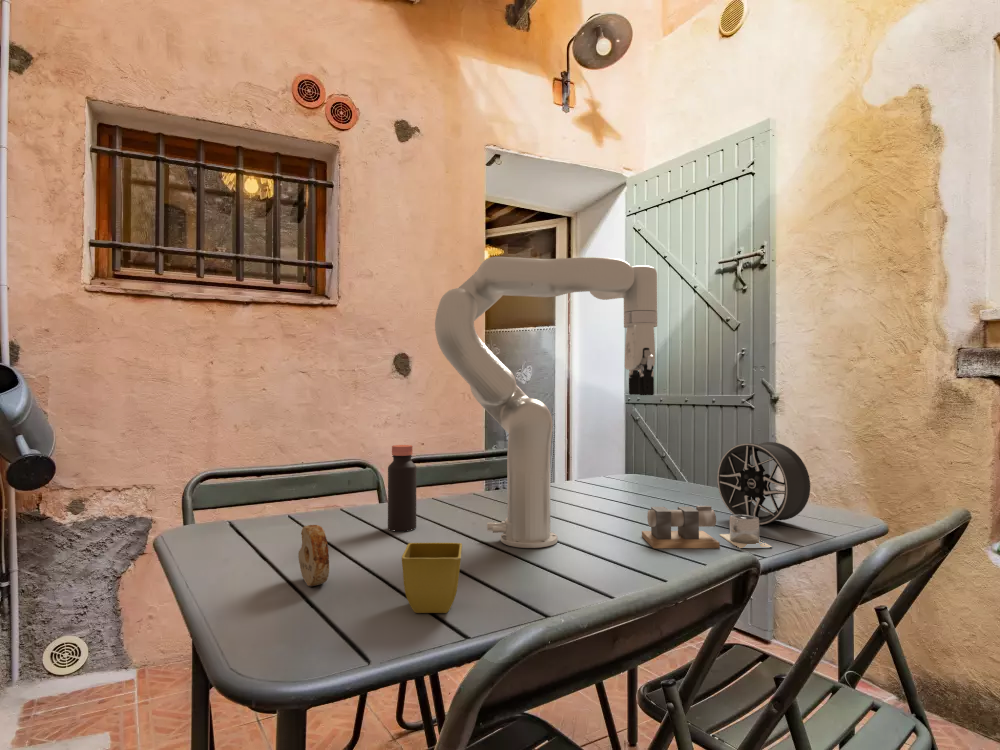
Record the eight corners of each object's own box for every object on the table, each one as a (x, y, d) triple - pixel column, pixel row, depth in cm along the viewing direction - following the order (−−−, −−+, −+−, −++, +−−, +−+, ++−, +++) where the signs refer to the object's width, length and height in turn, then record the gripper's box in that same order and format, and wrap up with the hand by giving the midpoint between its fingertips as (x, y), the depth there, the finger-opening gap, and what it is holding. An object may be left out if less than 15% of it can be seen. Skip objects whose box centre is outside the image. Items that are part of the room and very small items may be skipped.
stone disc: (333, 589, 99) (333, 530, 99) (310, 593, 97) (310, 533, 97) (318, 573, 108) (318, 518, 108) (297, 576, 106) (297, 520, 106)
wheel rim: (717, 516, 154) (716, 440, 155) (740, 512, 159) (739, 438, 159) (788, 532, 137) (787, 446, 138) (811, 527, 142) (810, 444, 142)
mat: (739, 548, 124) (739, 547, 124) (719, 535, 134) (719, 534, 135) (772, 548, 124) (772, 547, 124) (750, 535, 135) (750, 534, 135)
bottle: (411, 532, 138) (411, 447, 138) (383, 531, 139) (383, 446, 139) (419, 526, 144) (419, 444, 145) (393, 525, 145) (393, 444, 146)
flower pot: (462, 597, 95) (462, 541, 95) (460, 618, 86) (460, 557, 87) (408, 598, 95) (408, 542, 95) (400, 619, 86) (400, 558, 86)
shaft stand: (653, 548, 124) (653, 511, 124) (641, 536, 134) (641, 502, 134) (721, 548, 124) (721, 511, 124) (705, 536, 134) (704, 501, 134)
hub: (736, 543, 126) (736, 520, 126) (725, 536, 132) (725, 514, 132) (764, 543, 126) (764, 520, 126) (752, 536, 132) (751, 514, 132)
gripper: (616, 324, 144) (616, 394, 143) (632, 316, 126) (633, 395, 126) (647, 324, 144) (647, 394, 143) (667, 316, 126) (668, 395, 126)
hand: (640, 394), depth 135 cm, fingers open, 9 cm apart
